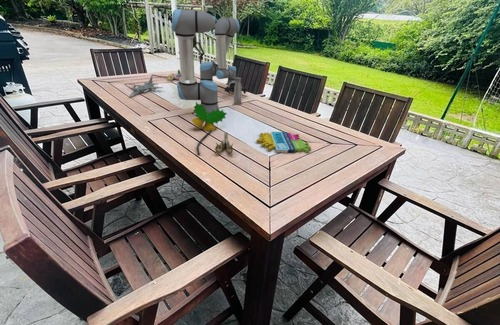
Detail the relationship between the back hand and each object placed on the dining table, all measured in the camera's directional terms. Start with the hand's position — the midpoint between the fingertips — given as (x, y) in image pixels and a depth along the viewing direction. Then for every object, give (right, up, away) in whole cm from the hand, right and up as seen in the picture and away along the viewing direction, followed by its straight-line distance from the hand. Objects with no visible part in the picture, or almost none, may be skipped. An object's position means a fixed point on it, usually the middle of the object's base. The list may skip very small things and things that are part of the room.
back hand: (237, 92), depth 222 cm
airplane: (-82, +3, +7) cm, 82 cm away
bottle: (+1, -11, -7) cm, 13 cm away
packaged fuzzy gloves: (+29, -48, -69) cm, 89 cm away
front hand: (-36, +20, -12) cm, 42 cm away
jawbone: (-3, -54, -83) cm, 99 cm away
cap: (+2, +6, -17) cm, 18 cm away
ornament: (-15, -38, -57) cm, 70 cm away
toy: (-69, +31, +59) cm, 97 cm away
